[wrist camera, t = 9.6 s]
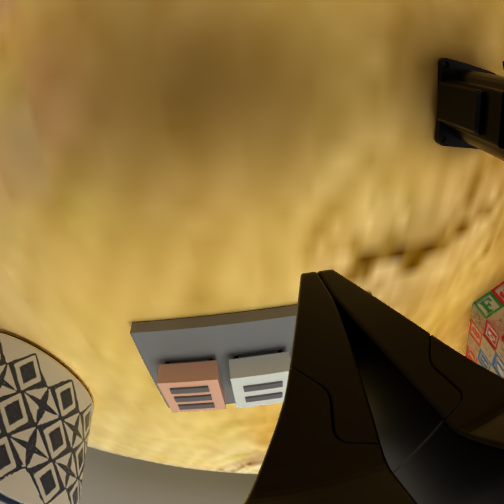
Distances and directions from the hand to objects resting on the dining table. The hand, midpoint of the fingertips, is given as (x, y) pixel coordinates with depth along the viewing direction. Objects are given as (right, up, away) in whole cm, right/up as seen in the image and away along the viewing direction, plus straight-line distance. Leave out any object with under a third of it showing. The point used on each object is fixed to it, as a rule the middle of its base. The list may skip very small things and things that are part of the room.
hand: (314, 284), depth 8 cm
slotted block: (-7, -10, +19) cm, 22 cm away
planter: (-29, -14, +20) cm, 38 cm away
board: (-1, -9, +20) cm, 22 cm away
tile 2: (-1, -9, +19) cm, 21 cm away
